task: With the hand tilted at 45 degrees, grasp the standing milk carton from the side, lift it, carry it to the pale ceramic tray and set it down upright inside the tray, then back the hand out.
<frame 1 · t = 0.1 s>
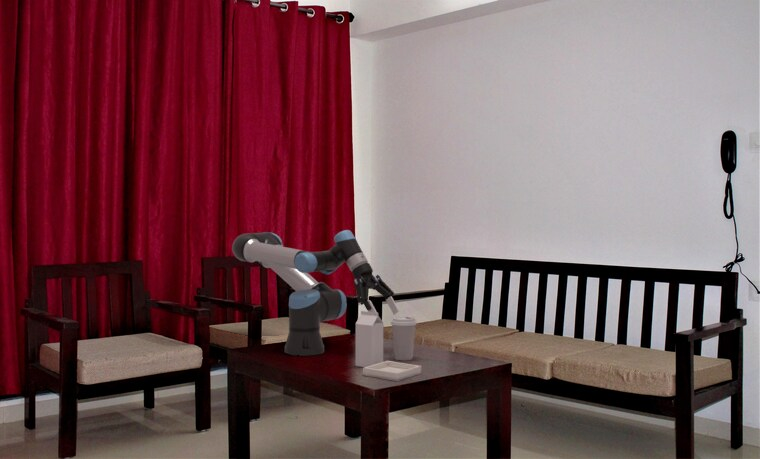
hand: (386, 315, 277), 15 cm above the table, tool tilted 35°, fingers open, 13 cm apart
ceramic tray: (392, 374, 247), on the table
milk carton: (369, 366, 261), on the table
coffee cup: (403, 359, 273), on the table
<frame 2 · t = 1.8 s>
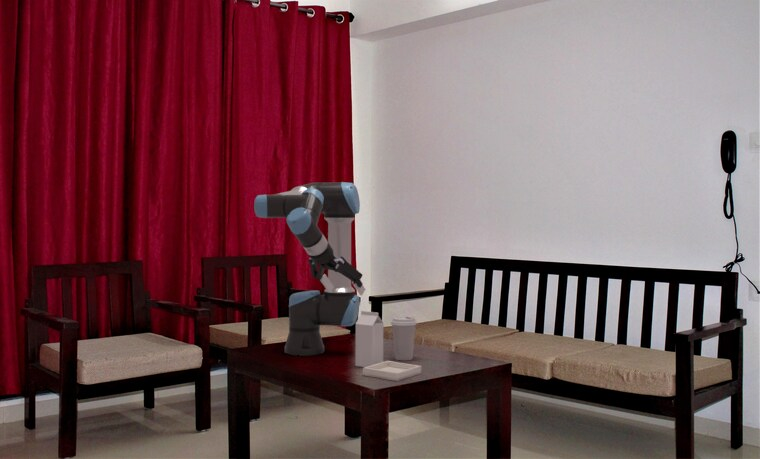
hand: (346, 291, 252), 27 cm above the table, tool tilted 45°, fingers open, 13 cm apart
nothing on the table moved.
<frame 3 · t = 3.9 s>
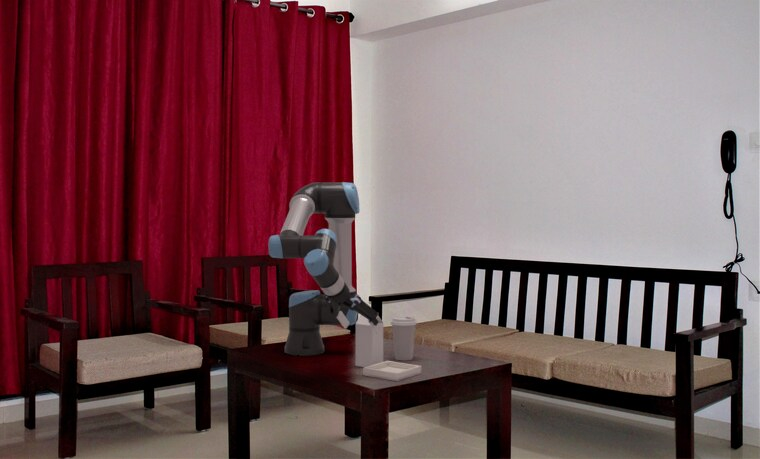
hand: (362, 327, 256), 14 cm above the table, tool tilted 45°, fingers open, 13 cm apart
nothing on the table moved.
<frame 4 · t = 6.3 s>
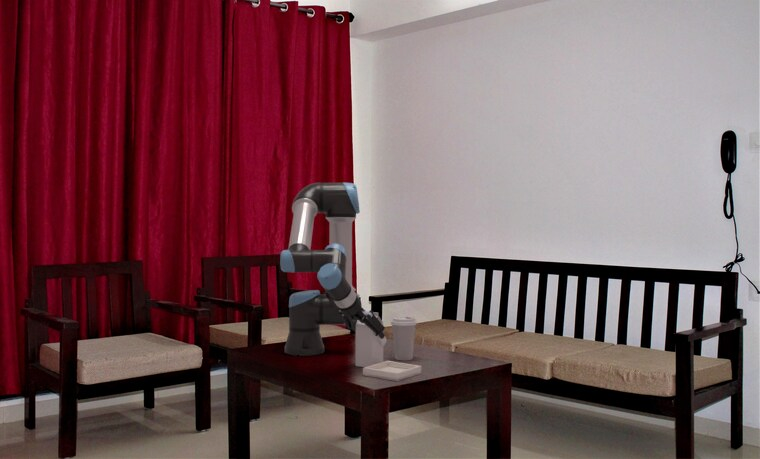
hand: (375, 341, 263), 8 cm above the table, tool tilted 45°, fingers closed on milk carton, 7 cm apart
milk carton: (369, 366, 261), on the table, touching gripper
everything else where it was.
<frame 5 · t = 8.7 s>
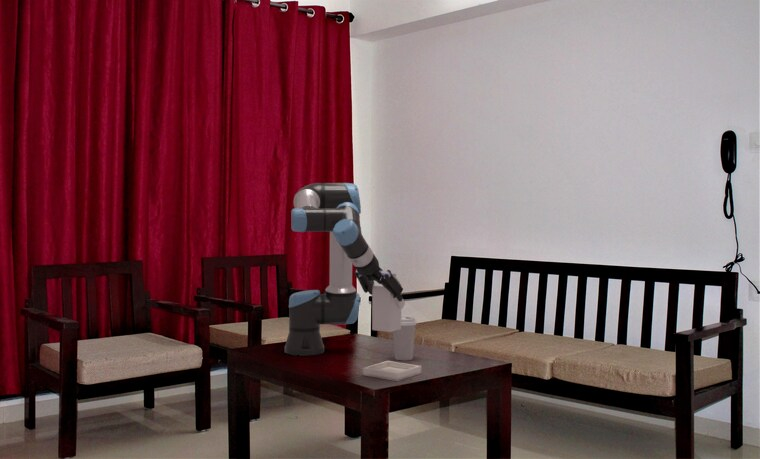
hand: (392, 305, 251), 23 cm above the table, tool tilted 45°, fingers closed on milk carton, 7 cm apart
milk carton: (386, 330, 249), point 14 cm above the table, touching gripper
everything else where it was.
when the fingers open (10 cm above the table, at t = 11.5 s): milk carton drops 1 cm, resting on ceramic tray.
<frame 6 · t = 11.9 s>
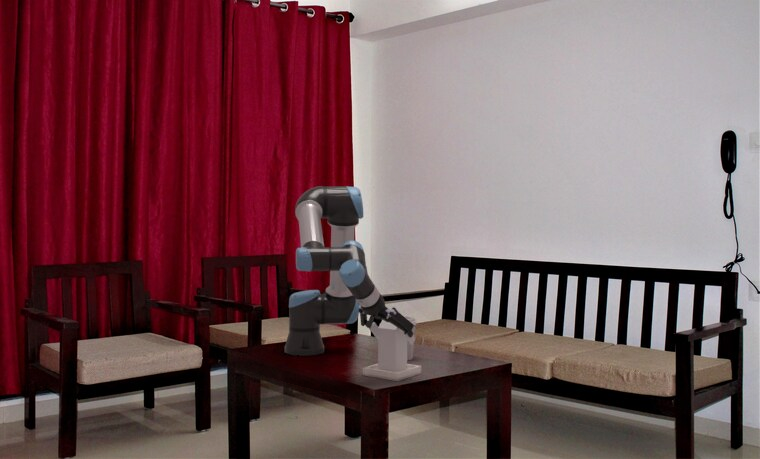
hand: (396, 339, 249), 11 cm above the table, tool tilted 45°, fingers open, 13 cm apart
milk carton: (392, 372, 247), point 1 cm above the table, touching ceramic tray
everything else where it was.
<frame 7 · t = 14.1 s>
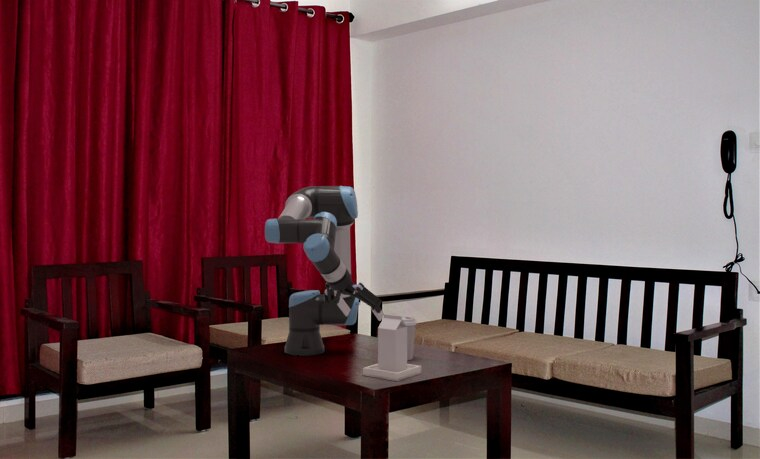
hand: (364, 315, 244), 20 cm above the table, tool tilted 45°, fingers open, 13 cm apart
nothing on the table moved.
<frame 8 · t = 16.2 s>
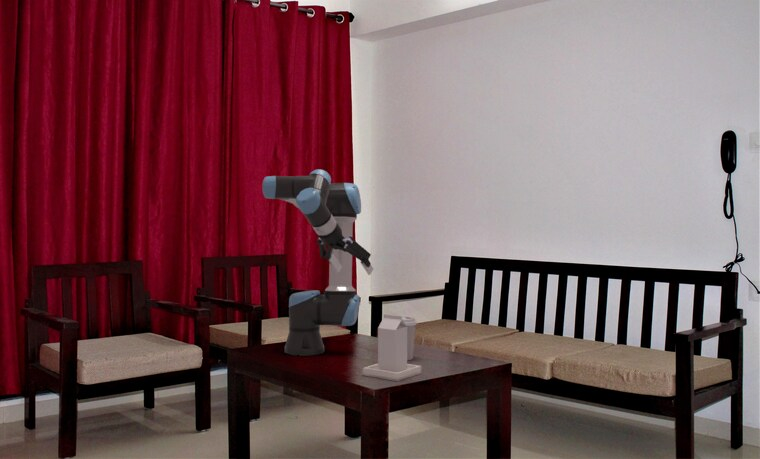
hand: (355, 270, 256), 34 cm above the table, tool tilted 45°, fingers open, 13 cm apart
nothing on the table moved.
at the end: milk carton inside the target area on the ceramic tray (0.2 cm from its centre), point 0.6 cm above the ceramic tray's base; milk carton tilted 0°; the gripper is holding nothing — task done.
